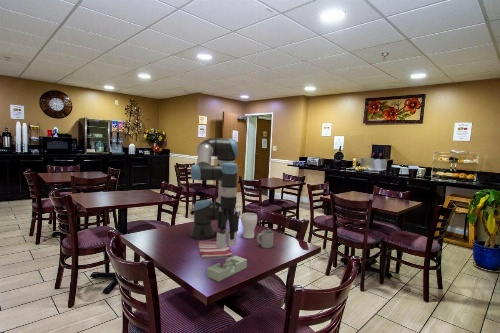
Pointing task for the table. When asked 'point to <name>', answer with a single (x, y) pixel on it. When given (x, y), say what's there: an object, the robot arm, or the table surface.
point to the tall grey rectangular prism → (222, 236)
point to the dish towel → (213, 250)
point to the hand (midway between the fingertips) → (227, 244)
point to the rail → (226, 268)
